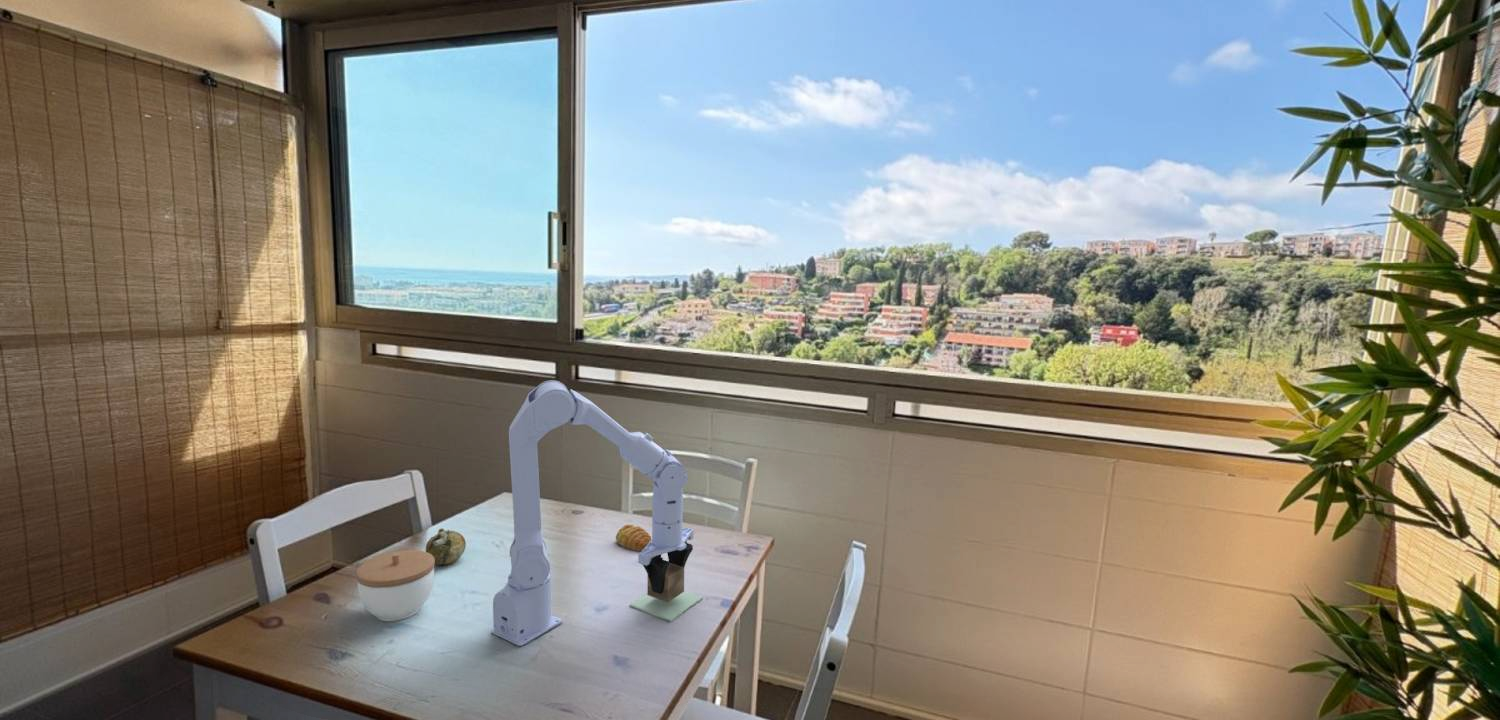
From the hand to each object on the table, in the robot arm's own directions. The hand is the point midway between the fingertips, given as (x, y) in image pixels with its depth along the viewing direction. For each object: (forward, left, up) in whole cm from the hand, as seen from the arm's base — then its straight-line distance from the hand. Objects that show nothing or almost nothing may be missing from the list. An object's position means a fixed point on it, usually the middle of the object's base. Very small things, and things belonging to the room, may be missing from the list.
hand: (666, 586), depth 123 cm
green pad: (0, 0, -3) cm, 3 cm away
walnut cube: (0, 0, -2) cm, 2 cm away
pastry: (+17, +23, -4) cm, 29 cm away
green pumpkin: (-13, +50, -4) cm, 52 cm away
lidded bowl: (-30, +39, -4) cm, 49 cm away
